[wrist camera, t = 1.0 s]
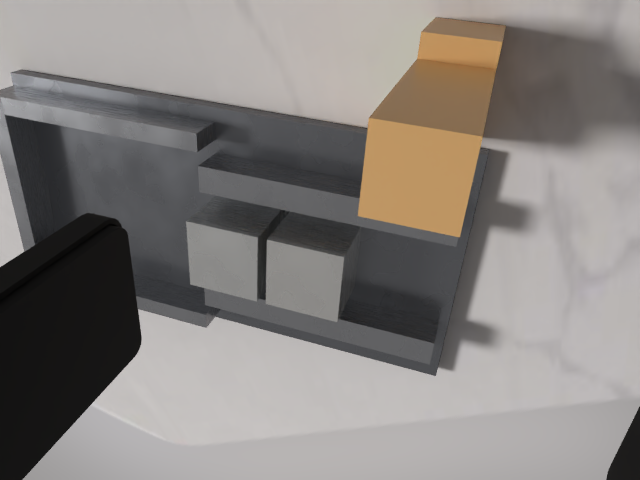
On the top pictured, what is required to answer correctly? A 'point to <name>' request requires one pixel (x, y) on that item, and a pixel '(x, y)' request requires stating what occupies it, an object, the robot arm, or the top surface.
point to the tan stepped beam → (432, 129)
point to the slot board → (229, 182)
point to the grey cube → (312, 265)
